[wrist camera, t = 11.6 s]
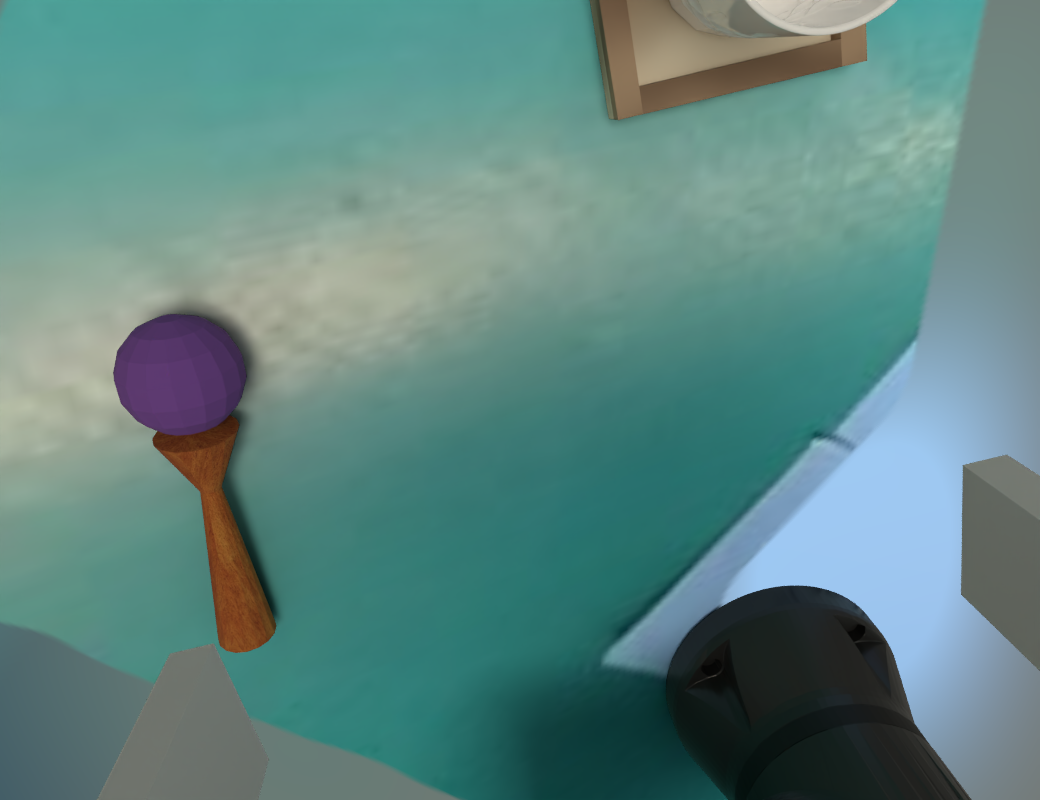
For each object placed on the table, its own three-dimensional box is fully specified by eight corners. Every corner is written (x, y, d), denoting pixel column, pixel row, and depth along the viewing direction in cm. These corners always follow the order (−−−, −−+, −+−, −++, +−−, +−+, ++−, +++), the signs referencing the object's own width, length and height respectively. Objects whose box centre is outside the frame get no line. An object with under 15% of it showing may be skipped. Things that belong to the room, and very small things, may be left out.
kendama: (175, 667, 43) (70, 341, 34) (222, 595, 48) (142, 297, 39) (276, 673, 42) (196, 342, 33) (312, 600, 47) (252, 298, 38)
